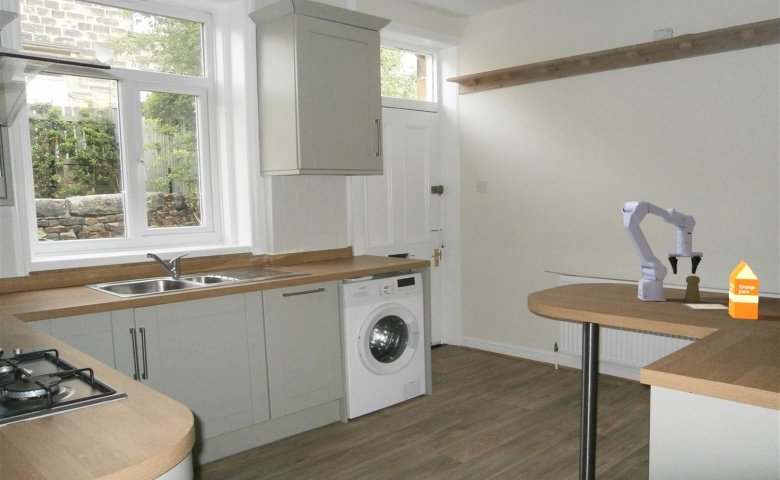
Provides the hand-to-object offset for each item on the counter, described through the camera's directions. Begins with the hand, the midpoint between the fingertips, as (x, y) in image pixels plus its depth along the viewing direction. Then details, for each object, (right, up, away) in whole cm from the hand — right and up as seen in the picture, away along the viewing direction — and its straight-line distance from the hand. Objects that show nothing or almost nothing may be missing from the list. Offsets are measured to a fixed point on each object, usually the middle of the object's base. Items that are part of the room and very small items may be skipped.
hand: (684, 273), depth 256 cm
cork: (-1, -11, -9) cm, 15 cm away
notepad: (-1, -12, -21) cm, 24 cm away
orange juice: (+3, -14, -37) cm, 40 cm away
